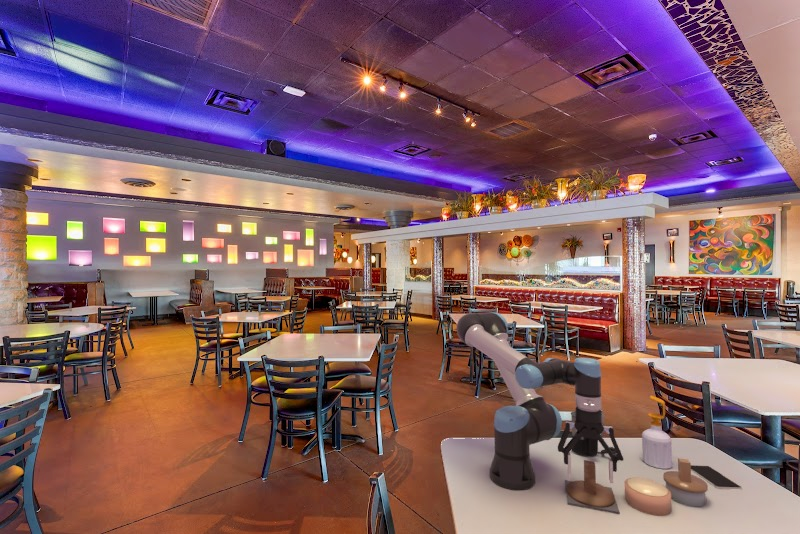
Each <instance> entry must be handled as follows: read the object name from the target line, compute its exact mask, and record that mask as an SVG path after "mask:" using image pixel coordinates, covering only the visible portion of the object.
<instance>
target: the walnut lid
mask: <svg viewBox="0 0 800 534" xmlns="http://www.w3.org/2000/svg"><path fill="white" fill-rule="evenodd" d="M596 475H597V474H596V463H595V461H592V460H586V459H583V479H584V480H573V481H572V480H571V481H572V482H570V483H569V484H568V485H567V493H568V495H569V496H570V497H571V498H572V499H574V500H575V501H577V502H579V503H582V504H584V505H587V506H591V507H597V508H606V507H610V506H612V505H613V504H614V503H615V500H616V497H615V494H614V492H613V493H612V492H611V491H610V490H609V489H608V488H606V487H607V486H604V485H602V484H599V483H597V482H596V480H597V479H596V477H597V476H596Z"/></svg>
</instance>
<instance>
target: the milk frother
mask: <svg viewBox="0 0 800 534" xmlns="http://www.w3.org/2000/svg"><path fill="white" fill-rule="evenodd" d="M570 415H571V422H573V423H574V422H575V420H576V410H574V411H572V412H570ZM576 432H577V429H576V428H575V427H573V428H572V429H571V439H572V438H573V436H574V435H575V433H576ZM609 448H610V449H611V451H612V452H613V454H614V455H617V453H616V450H615V448H614V446H609ZM598 450H599V441H598V439H597V438H596V439H591V438H584V437H582V438H581V439H580V440H579V441H578V442H577V443H576V444H575V446H574V447H573V448H572V450H571V451H572V452H573V453H574V454H577V455H578V456H582V457H595V456H597V455H598V454H599V455H601V454H602V455H603V454H604V455H605V454H606V455H608V453H607V452H606V450H605V449H602V450H601V451H598ZM620 452H621V453H622V451H621V450H620Z"/></svg>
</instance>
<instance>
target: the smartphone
mask: <svg viewBox="0 0 800 534" xmlns="http://www.w3.org/2000/svg"><path fill="white" fill-rule="evenodd" d="M691 472H693V473H694V474H696V475H697V477H699V478H700V479H702V480H703V481H705V482H706V483H707V484H709V485H711V486H713V487H714V488H715V489H717V490H730V489H741V490H742V485H739V484H738V483H736V482H734V481H733V480H731V479H730V478H729V477H726V476H725V475H723V474H722V473H720V472H719V471H717V470H716V469H714V468H712V467H711V466H708V465H695V464H694V465H692V464H691Z"/></svg>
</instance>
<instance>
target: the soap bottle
mask: <svg viewBox="0 0 800 534" xmlns="http://www.w3.org/2000/svg"><path fill="white" fill-rule="evenodd" d="M649 400H652V401H654V402H656V403H658V404H660V405H661V406H662V414H659V413H653V412H649V413H648V414H647V415H648V416H647V417H649V418H651V419H652V421H650V428H648V429H645V430H644V431H643V432H642V433H641V441H642V445H641V446H642V462H644V463H645V464H646V465H648V466H650V467H652V468H656V469H663V470H667V469H668V470H669V469H671V468H672V467H673V453H672V452H673V450H672V438H671V437H670V435H669V434H668V433H666V432H665V431H663V429H662V423H661V422H659V421H660V420H663V419H664V418H665V415H666V402H665V401H664V400H663V399H661V398H659V397H657V396H654V395H649Z"/></svg>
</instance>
